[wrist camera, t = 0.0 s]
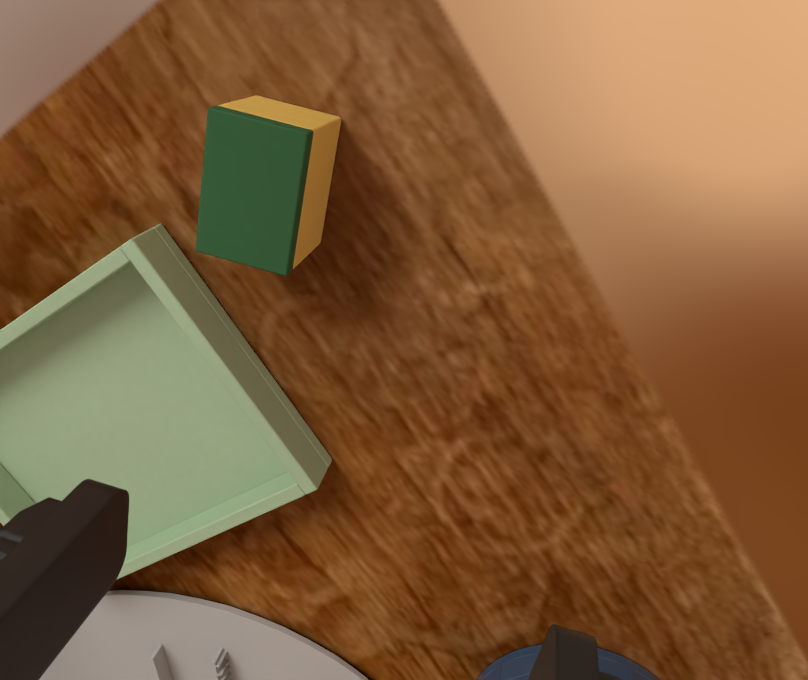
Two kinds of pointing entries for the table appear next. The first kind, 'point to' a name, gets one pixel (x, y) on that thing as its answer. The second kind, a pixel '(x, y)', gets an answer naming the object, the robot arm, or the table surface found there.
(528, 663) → the bowl
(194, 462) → the tray
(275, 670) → the plate
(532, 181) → the table surface
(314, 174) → the sponge
